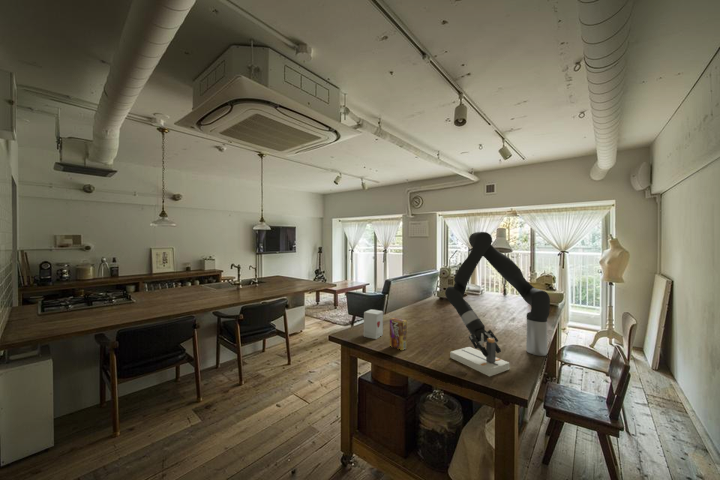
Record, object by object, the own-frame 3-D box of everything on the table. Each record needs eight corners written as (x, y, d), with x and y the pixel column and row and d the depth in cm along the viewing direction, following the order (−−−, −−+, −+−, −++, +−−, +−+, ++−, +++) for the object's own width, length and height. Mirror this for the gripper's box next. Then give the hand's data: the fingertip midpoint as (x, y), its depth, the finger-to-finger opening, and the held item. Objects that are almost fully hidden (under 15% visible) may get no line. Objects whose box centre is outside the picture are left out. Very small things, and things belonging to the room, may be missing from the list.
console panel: (469, 352, 147) (469, 346, 147) (509, 369, 128) (509, 362, 128) (450, 357, 140) (450, 351, 140) (489, 376, 121) (489, 368, 121)
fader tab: (490, 359, 131) (490, 337, 131) (496, 362, 128) (496, 339, 128) (485, 361, 129) (485, 338, 129) (491, 363, 126) (491, 340, 126)
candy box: (407, 348, 151) (407, 320, 151) (402, 351, 148) (402, 322, 148) (393, 344, 158) (393, 317, 158) (389, 346, 154) (389, 318, 154)
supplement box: (376, 339, 165) (376, 314, 165) (363, 336, 170) (363, 312, 170) (383, 335, 173) (383, 310, 173) (370, 332, 177) (370, 308, 177)
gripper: (467, 320, 131) (488, 353, 121) (486, 316, 138) (508, 347, 128) (457, 328, 136) (478, 361, 126) (477, 324, 143) (498, 354, 133)
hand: (493, 354), depth 127 cm, fingers open, 8 cm apart
